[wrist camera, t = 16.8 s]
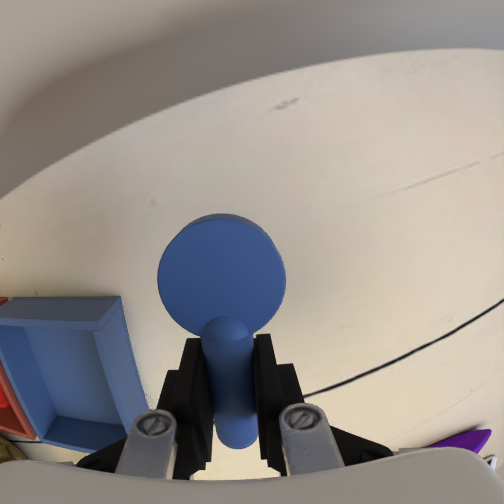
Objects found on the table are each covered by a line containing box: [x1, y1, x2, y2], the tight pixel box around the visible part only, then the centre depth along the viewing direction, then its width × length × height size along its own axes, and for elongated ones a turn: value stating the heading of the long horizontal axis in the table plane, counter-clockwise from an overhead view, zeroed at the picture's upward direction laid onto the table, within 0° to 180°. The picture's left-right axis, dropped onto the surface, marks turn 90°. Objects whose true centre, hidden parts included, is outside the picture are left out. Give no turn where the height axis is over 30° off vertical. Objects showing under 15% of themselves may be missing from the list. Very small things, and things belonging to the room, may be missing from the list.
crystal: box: [428, 429, 491, 454], centre depth 24 cm, size 5×5×15 cm
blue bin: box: [0, 297, 149, 454], centre depth 19 cm, size 12×10×4 cm
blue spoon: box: [157, 214, 286, 449], centre depth 11 cm, size 10×4×2 cm, turn 3°
